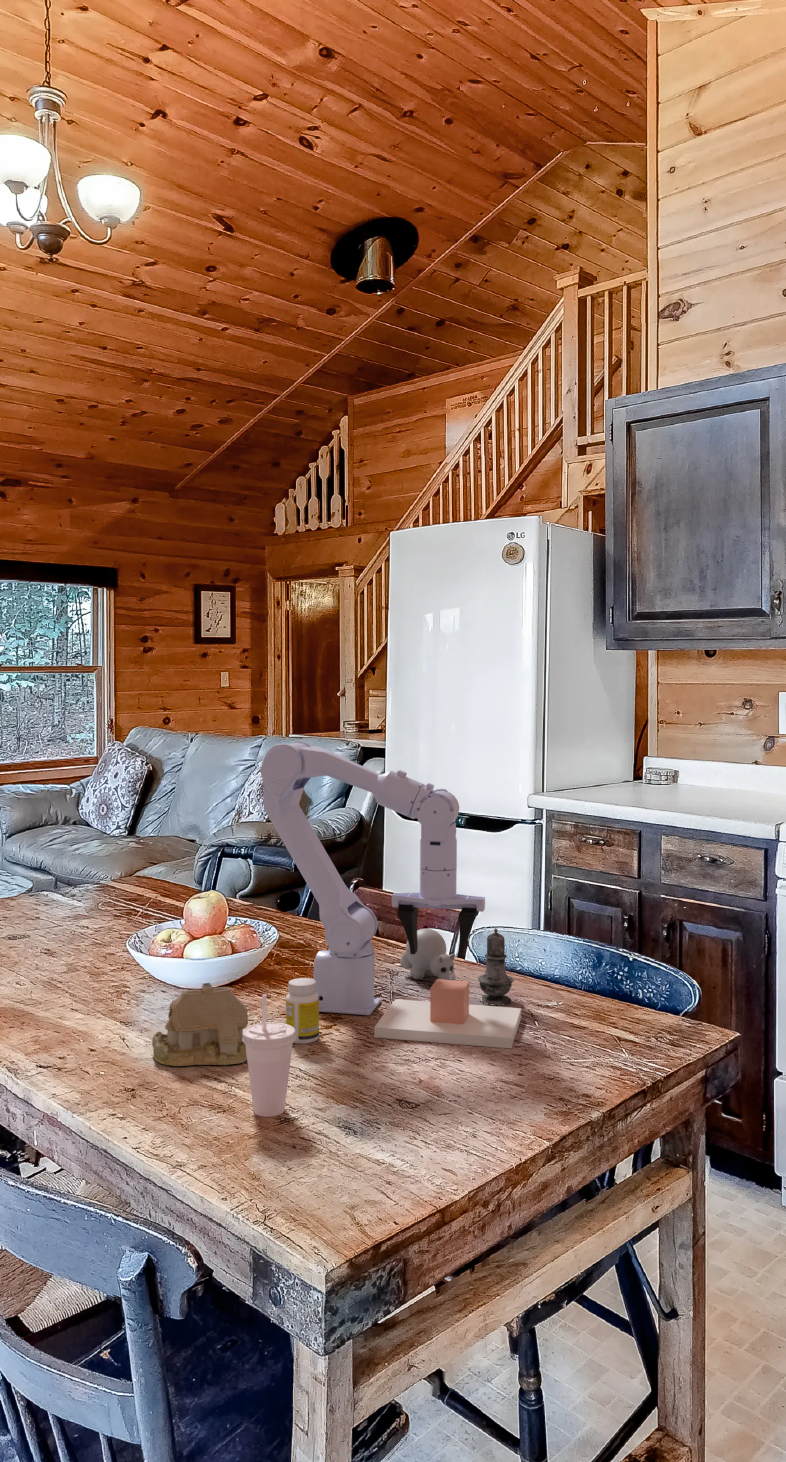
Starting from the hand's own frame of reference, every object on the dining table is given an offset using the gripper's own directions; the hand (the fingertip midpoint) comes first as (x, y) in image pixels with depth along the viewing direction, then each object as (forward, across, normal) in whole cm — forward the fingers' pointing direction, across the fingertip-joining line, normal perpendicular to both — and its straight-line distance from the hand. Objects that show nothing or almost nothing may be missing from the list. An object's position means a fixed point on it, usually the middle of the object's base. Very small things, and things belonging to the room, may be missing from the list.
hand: (437, 954), depth 156 cm
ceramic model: (+10, -28, -25) cm, 39 cm away
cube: (+8, +3, -6) cm, 10 cm away
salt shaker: (+10, +8, +9) cm, 15 cm away
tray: (+9, +3, -6) cm, 12 cm away
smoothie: (+10, -13, -41) cm, 44 cm away
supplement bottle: (+10, -17, -16) cm, 25 cm away
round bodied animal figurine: (+10, -5, +19) cm, 21 cm away
